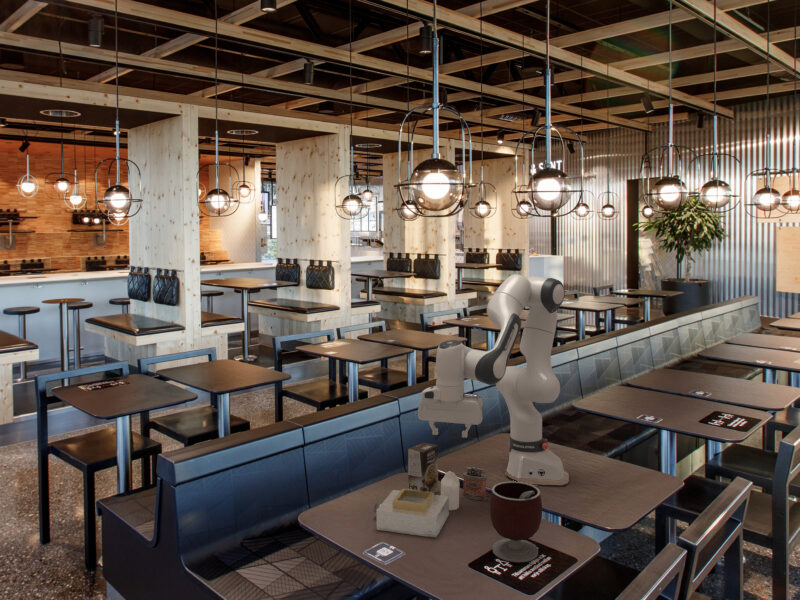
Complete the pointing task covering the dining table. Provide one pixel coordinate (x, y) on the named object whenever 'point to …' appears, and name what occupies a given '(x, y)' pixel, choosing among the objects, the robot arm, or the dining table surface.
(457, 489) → the roll
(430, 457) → the coffee box
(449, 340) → the robot arm
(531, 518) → the mate gourd
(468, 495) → the lighter
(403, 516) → the white box
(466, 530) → the dining table surface
